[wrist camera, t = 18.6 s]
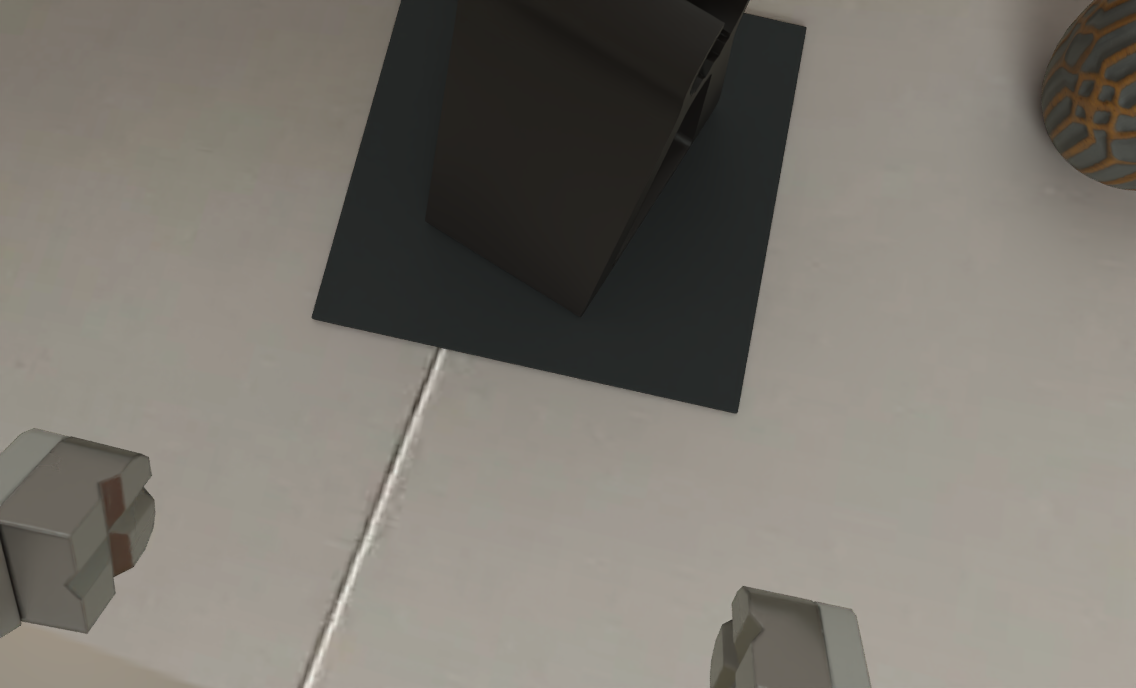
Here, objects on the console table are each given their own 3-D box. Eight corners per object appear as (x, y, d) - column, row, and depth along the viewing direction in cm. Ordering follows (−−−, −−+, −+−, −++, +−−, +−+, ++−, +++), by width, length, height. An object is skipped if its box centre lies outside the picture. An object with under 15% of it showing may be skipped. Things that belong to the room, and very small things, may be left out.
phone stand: (579, 320, 28) (619, 184, 17) (424, 223, 29) (357, 23, 17) (718, 106, 30) (843, -155, 18) (570, 17, 31) (601, -295, 19)
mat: (312, 319, 28) (311, 317, 28) (419, -58, 31) (419, -62, 31) (736, 413, 28) (737, 413, 28) (805, 30, 31) (806, 27, 31)
